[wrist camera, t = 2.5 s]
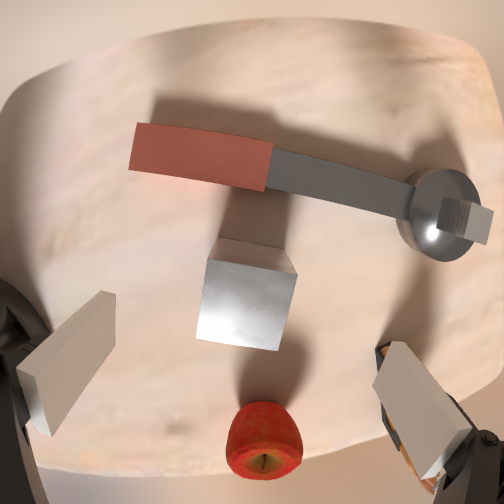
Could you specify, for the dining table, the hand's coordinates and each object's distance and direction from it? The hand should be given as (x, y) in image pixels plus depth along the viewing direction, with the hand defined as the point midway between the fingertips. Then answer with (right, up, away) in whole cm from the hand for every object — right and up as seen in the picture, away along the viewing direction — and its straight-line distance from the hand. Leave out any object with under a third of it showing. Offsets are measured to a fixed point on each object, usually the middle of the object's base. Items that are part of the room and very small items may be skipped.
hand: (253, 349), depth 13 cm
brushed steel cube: (-1, +3, +10) cm, 10 cm away
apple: (+1, -10, +13) cm, 17 cm away
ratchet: (+5, +9, +8) cm, 14 cm away
